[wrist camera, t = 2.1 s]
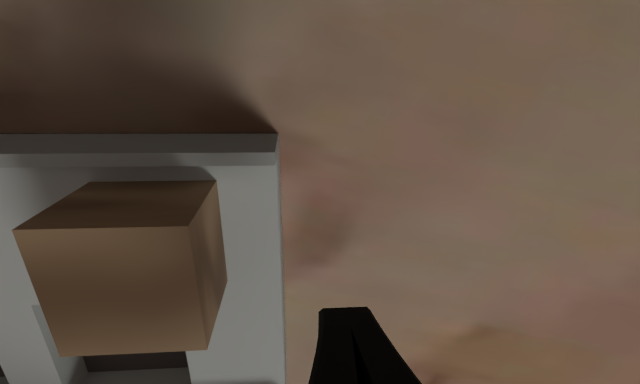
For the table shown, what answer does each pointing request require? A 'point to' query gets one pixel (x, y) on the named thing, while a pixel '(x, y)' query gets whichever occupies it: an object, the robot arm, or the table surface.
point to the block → (128, 266)
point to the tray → (238, 237)
